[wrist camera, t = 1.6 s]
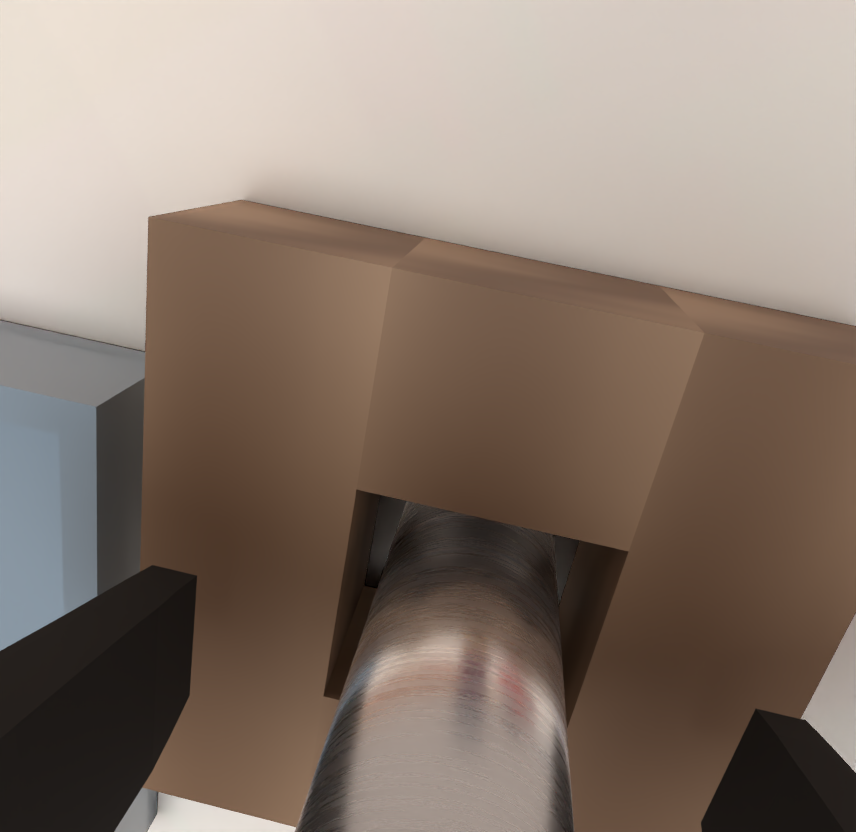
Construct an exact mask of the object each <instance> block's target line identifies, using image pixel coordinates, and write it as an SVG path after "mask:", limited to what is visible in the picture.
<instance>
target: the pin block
mask: <svg viewBox="0 0 856 832" xmlns="http://www.w3.org/2000/svg"><path fill="white" fill-rule="evenodd" d="M380 495H383V496H387V497H392V498H396V499H401V500H405V501H409V502H414V503H418V504H422V505H427V506H431V507H436V508H440V509H444V510H449V511H453V512H458V513H462V514H466V515H471V516H475V517H480V518H484V519H488V520H493V521H497V522H502V523H506V524H510V525H515V526H519V527H523V528H528V529H532V530H537V531H541V532H545V533H550V534H554V535H559V536H563V537H567V538H572V539H576V540H580V541H579V544H578V547H577V551H576V554H575V557H574V560H573V563H572V567H571V570H570V573H569V576H568V579H567V583H566V586H565V589H564V592H563V595H562V599H561V602H560V605H559V622H560V637H561V651H562V665H563V680H564V694H565V708H566V722H567V737H568V751H569V765H570V780H571V794H572V808H573V823H574V832H702V828H701V821H702V819H703V817H704V815H705V813H706V811H707V809H708V806H709V804H710V802H711V800H712V798H713V796H714V794H715V792H716V790H717V788H718V786H719V784H720V782H721V779H722V777H723V775H724V773H725V771H726V769H727V767H728V765H729V763H730V761H731V759H732V757H733V755H734V752H735V750H736V748H737V746H738V744H739V742H740V740H741V738H742V736H743V734H744V732H745V730H746V728H747V725H748V723H749V721H750V719H751V717H752V715H753V713H754V711H755V709H760V710H764V711H769V712H773V713H777V714H781V715H785V716H790V717H794V718H798V719H801V717H802V715H803V713H804V711H805V709H806V707H807V706H808V704H809V702H810V700H811V698H812V696H813V694H814V692H815V690H816V688H817V686H818V684H819V682H820V680H821V679H822V677H823V675H824V673H825V671H826V669H827V667H828V665H829V663H830V661H831V659H832V657H833V655H834V653H835V652H836V650H837V648H838V646H839V644H840V642H841V640H842V638H843V636H844V634H845V632H846V630H847V628H848V626H849V625H850V623H851V621H852V619H853V617H854V615H855V613H856V326H851V325H847V324H842V323H837V322H832V321H827V320H822V319H817V318H813V317H808V316H803V315H798V314H793V313H788V312H783V311H779V310H774V309H769V308H764V307H759V306H754V305H749V304H745V303H740V302H735V301H730V300H725V299H720V298H715V297H711V296H706V295H701V294H696V293H691V292H686V291H681V290H677V289H672V288H667V287H662V286H657V285H652V284H647V283H643V282H638V281H633V280H628V279H623V278H618V277H613V276H608V275H604V274H599V273H594V272H589V271H584V270H579V269H574V268H570V267H565V266H560V265H555V264H550V263H545V262H540V261H536V260H531V259H526V258H521V257H516V256H511V255H506V254H502V253H497V252H492V251H487V250H482V249H477V248H472V247H468V246H463V245H458V244H453V243H448V242H443V241H438V240H434V239H429V238H424V237H419V236H414V235H409V234H404V233H400V232H395V231H390V230H385V229H380V228H375V227H370V226H365V225H361V224H356V223H351V222H346V221H341V220H336V219H331V218H327V217H322V216H317V215H312V214H307V213H302V212H297V211H293V210H288V209H283V208H278V207H273V206H268V205H263V204H259V203H254V202H249V201H244V200H238V201H233V202H227V203H222V204H216V205H211V206H205V207H200V208H194V209H189V210H183V211H178V212H173V213H167V214H162V215H156V216H151V217H149V218H148V260H147V301H146V343H145V385H144V426H143V468H142V510H141V551H140V571H142V570H144V569H146V568H148V567H150V566H151V565H155V566H159V567H163V568H168V569H172V570H176V571H180V572H184V573H189V574H193V575H197V587H196V603H195V619H194V635H193V651H192V667H191V683H190V696H189V698H188V700H187V702H186V704H185V706H184V708H183V711H182V713H181V715H180V717H179V719H178V721H177V723H176V725H175V727H174V729H173V731H172V733H171V735H170V737H169V739H168V741H167V743H166V745H165V747H164V749H163V751H162V753H161V755H160V757H159V759H158V761H157V763H156V765H155V767H154V769H153V771H152V773H151V774H150V776H149V777H148V779H147V781H146V782H145V784H144V785H143V787H142V788H146V789H150V790H153V791H157V792H161V793H165V794H169V795H173V796H177V797H181V798H185V799H189V800H192V801H196V802H200V803H204V804H208V805H212V806H216V807H220V808H224V809H227V810H231V811H235V812H239V813H243V814H247V815H251V816H255V817H259V818H262V819H266V820H270V821H274V822H278V823H282V824H286V825H290V826H294V827H297V824H298V821H299V818H300V815H301V812H302V809H303V806H304V803H305V800H306V797H307V794H308V791H309V789H310V786H311V783H312V780H313V777H314V774H315V771H316V768H317V765H318V762H319V759H320V756H321V753H322V750H323V747H324V744H325V741H326V738H327V735H328V732H329V729H330V726H331V723H332V721H333V718H334V715H335V712H336V709H337V706H338V703H339V700H340V697H341V694H342V691H343V688H344V685H345V682H346V679H347V676H348V673H349V670H350V667H351V664H352V661H353V658H354V655H355V653H356V650H357V647H358V644H359V641H360V638H361V635H362V632H363V629H364V626H365V623H366V620H367V617H368V614H369V611H370V608H371V605H372V602H373V599H374V596H375V593H376V590H377V589H376V588H372V587H368V586H364V584H365V578H366V573H367V567H368V561H369V556H370V550H371V544H372V539H373V533H374V527H375V522H376V516H377V510H378V505H379V499H380Z"/></svg>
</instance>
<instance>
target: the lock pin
mask: <svg viewBox="0 0 856 832" xmlns="http://www.w3.org/2000/svg"><path fill="white" fill-rule="evenodd" d="M295 832H574V823H573V808H572V794H571V780H570V765H569V751H568V737H567V722H566V708H565V694H564V680H563V665H562V651H561V637H560V622H559V608H558V594H557V579H556V565H555V551H554V537H553V534H550V533H545V532H541V531H537V530H532V529H528V528H523V527H519V526H515V525H510V524H506V523H502V522H497V521H493V520H488V519H484V518H480V517H475V516H471V515H466V514H462V513H458V512H453V511H449V510H444V509H440V508H436V507H431V506H427V505H422V504H418V503H414V502H409V501H407V502H406V505H405V508H404V511H403V514H402V517H401V520H400V522H399V525H398V528H397V531H396V534H395V537H394V540H393V543H392V546H391V549H390V552H389V555H388V558H387V561H386V564H385V567H384V570H383V573H382V576H381V579H380V582H379V585H378V587H377V590H376V593H375V596H374V599H373V602H372V605H371V608H370V611H369V614H368V617H367V620H366V623H365V626H364V629H363V632H362V635H361V638H360V641H359V644H358V647H357V650H356V653H355V655H354V658H353V661H352V664H351V667H350V670H349V673H348V676H347V679H346V682H345V685H344V688H343V691H342V694H341V697H340V700H339V703H338V706H337V709H336V712H335V715H334V718H333V721H332V723H331V726H330V729H329V732H328V735H327V738H326V741H325V744H324V747H323V750H322V753H321V756H320V759H319V762H318V765H317V768H316V771H315V774H314V777H313V780H312V783H311V786H310V789H309V791H308V794H307V797H306V800H305V803H304V806H303V809H302V812H301V815H300V818H299V821H298V824H297V827H296V830H295Z"/></svg>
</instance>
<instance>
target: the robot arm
mask: <svg viewBox="0 0 856 832" xmlns="http://www.w3.org/2000/svg"><path fill="white" fill-rule="evenodd" d="M196 587H197V575H193V574H189V573H184V572H180V571H176V570H172V569H168V568H163V567H159V566H155V565H151V566H150V567H148V568H146V569H144V570H142V571H140V572H138V573H137V574H135V575H133V576H131V577H130V578H128V579H126V580H124V581H123V582H121V583H119V584H117V585H116V586H114V587H112V588H110V589H109V590H107V591H105V592H104V593H102V594H100V595H98V596H97V597H95V598H93V599H91V600H90V601H88V602H86V603H84V604H83V605H81V606H79V607H77V608H76V609H74V610H72V611H70V612H69V613H67V614H65V615H63V616H62V617H60V618H58V619H56V620H55V621H53V622H51V623H49V624H48V625H46V626H44V627H42V628H40V629H39V630H37V631H35V632H33V633H31V634H30V635H28V636H26V637H24V638H22V639H21V640H19V641H17V642H15V643H13V644H12V645H10V646H8V647H6V648H4V649H3V650H1V651H0V832H114V831H115V830H116V828H117V826H118V825H119V823H120V822H121V820H122V819H123V817H124V815H125V814H126V812H127V811H128V809H129V808H130V806H131V804H132V803H133V801H134V800H135V798H136V797H137V795H138V793H139V792H140V790H141V789H142V787H143V785H144V784H145V782H146V781H147V779H148V777H149V776H150V774H151V773H152V771H153V769H154V767H155V765H156V763H157V761H158V759H159V757H160V755H161V753H162V751H163V749H164V747H165V745H166V743H167V741H168V739H169V737H170V735H171V733H172V731H173V729H174V727H175V725H176V723H177V721H178V719H179V717H180V715H181V713H182V711H183V708H184V706H185V704H186V702H187V700H188V698H189V696H190V683H191V667H192V651H193V635H194V619H195V603H196ZM701 828H702V832H856V773H855V772H854V771H853V770H852V769H851V767H850V766H849V765H848V764H847V763H846V762H845V761H844V760H843V759H842V758H841V757H840V755H839V754H838V753H837V752H836V751H835V750H834V749H833V748H832V747H831V746H830V745H829V744H828V743H827V742H826V741H825V739H824V738H823V737H822V736H821V735H820V734H819V733H818V732H817V731H816V730H815V729H814V728H813V727H812V726H811V725H810V724H809V723H808V722H807V721H806V720H802V719H798V718H794V717H790V716H785V715H781V714H777V713H773V712H769V711H764V710H760V709H755V711H754V713H753V715H752V717H751V719H750V721H749V723H748V725H747V728H746V730H745V732H744V734H743V736H742V738H741V740H740V742H739V744H738V746H737V748H736V750H735V752H734V755H733V757H732V759H731V761H730V763H729V765H728V767H727V769H726V771H725V773H724V775H723V777H722V779H721V782H720V784H719V786H718V788H717V790H716V792H715V794H714V796H713V798H712V800H711V802H710V804H709V806H708V809H707V811H706V813H705V815H704V817H703V819H702V821H701Z"/></svg>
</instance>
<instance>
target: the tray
mask: <svg viewBox="0 0 856 832" xmlns="http://www.w3.org/2000/svg"><path fill="white" fill-rule="evenodd" d="M144 385H145V352H142V351H138V350H133V349H129V348H124V347H119V346H115V345H110V344H106V343H101V342H97V341H92V340H88V339H83V338H79V337H74V336H69V335H65V334H60V333H56V332H51V331H47V330H42V329H38V328H33V327H29V326H24V325H20V324H15V323H10V322H6V321H1V320H0V651H1V650H3V649H4V648H6V647H8V646H10V645H12V644H13V643H15V642H17V641H19V640H21V639H22V638H24V637H26V636H28V635H30V634H31V633H33V632H35V631H37V630H39V629H40V628H42V627H44V626H46V625H48V624H49V623H51V622H53V621H55V620H56V619H58V618H60V617H62V616H63V615H65V614H67V613H69V612H70V611H72V610H74V609H76V608H77V607H79V606H81V605H83V604H84V603H86V602H88V601H90V600H91V599H93V598H95V597H97V596H98V595H100V594H102V593H104V592H105V591H107V590H109V589H110V588H112V587H114V586H116V585H117V584H119V583H121V582H123V581H124V580H126V579H128V578H130V577H131V576H133V575H135V574H137V573H138V572H140V551H141V510H142V468H143V426H144ZM157 794H158V792H157V791H153V790H150V789H146V788H142V789H141V790H140V792H139V793H138V795H137V797H136V798H135V800H134V801H133V803H132V804H131V806H130V808H129V809H128V811H127V812H126V814H125V815H124V817H123V819H122V820H121V822H120V823H119V825H118V826H117V828H116V830H115V831H114V832H147V831H148V829H149V827H150V825H151V824H152V822H153V820H154V818H155V816H156V814H157Z"/></svg>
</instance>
